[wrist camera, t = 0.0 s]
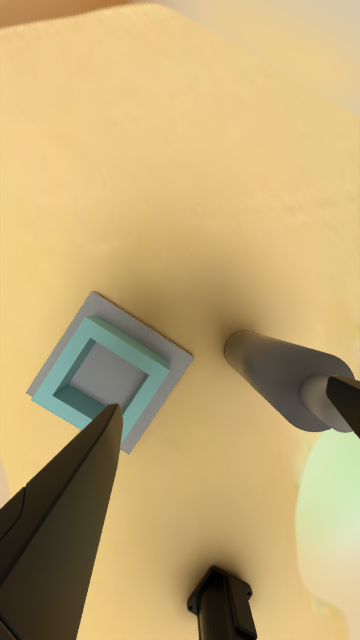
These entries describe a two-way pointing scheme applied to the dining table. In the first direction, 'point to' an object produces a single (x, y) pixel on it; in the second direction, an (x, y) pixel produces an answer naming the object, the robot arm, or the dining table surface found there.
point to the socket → (109, 370)
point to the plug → (289, 378)
